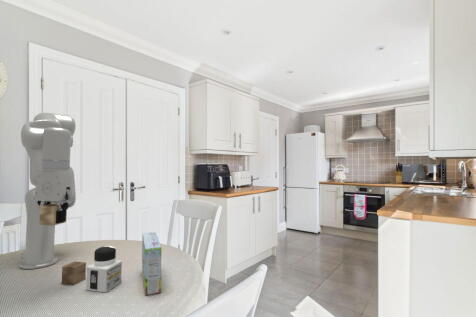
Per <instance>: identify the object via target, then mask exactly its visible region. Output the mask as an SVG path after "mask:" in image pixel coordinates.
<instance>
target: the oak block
mask: <svg viewBox="0 0 476 317" xmlns="http://www.w3.org/2000/svg"><path fill="white" fill-rule="evenodd" d="M62 205H63V204H62ZM56 211H58V207H57V203H53V204H47V205H41V206H40V222H39V225H49V226H54V225H55V226H57V225H62V224H65V223H67V220H66V221H65V222H62V223H56ZM67 211H68V209H67V210H66V219H67V216H68V215H67V214H68V212H67Z"/></svg>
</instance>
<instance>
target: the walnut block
mask: <svg viewBox="0 0 476 317" xmlns="http://www.w3.org/2000/svg"><path fill="white" fill-rule="evenodd" d="M61 267H62V268H61V285H67V286H76V285H78V284H79V283H81V282H83V281H85V280H86V276H87V262H83V261H75V260H74V261H72V262H69V263H67V264H64V265H63V266H61Z"/></svg>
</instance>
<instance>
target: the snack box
mask: <svg viewBox="0 0 476 317" xmlns="http://www.w3.org/2000/svg"><path fill="white" fill-rule="evenodd" d="M141 238H142V241H141V242H142V245H141V246H142V248H141V249H142V250H141V251H142V254H141V264H142V266H141V267H142V268H141V269H142V280H143V281H142V282H143V290H144V296H145V297H146V296H150V295H151V296H152V295H156V294H161V293H162V245H161V243H160V241H159V237H158V235H157V233H156V231H151V232H143V233H142V237H141Z"/></svg>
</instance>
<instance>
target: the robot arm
mask: <svg viewBox="0 0 476 317" xmlns="http://www.w3.org/2000/svg"><path fill="white" fill-rule="evenodd" d="M75 132H76V121H75V119H74V118H73V117H72V116H70V115H68V114H67V115H65V114H59V113H53V112H52V113H51V112H40V113H38V114H36V115H35V116H34V118H33V120H32V121H31V120H30V121H27V122H26V123H24V124H23V125H22V127H21V131H20V140H21V145H22V146H23V147H24V148H25V150H26V153H27V154H28V159H29V182H30V184H31V185H32V186H34V187H33V188H31V189H29V190H27V192H26V193H25V195H24V202H25V204H24V205H25V210H26V211H25V213H26V229H25V230H26V231H25V246H24V247H25V251H23V252H22V254H20V255H18V257H19V258H20V259H22V261H21V262H20V263H19V268H20V269H23V270H33V269H41V268H45V267H49V266H51V265H55V264H56V263H57V262H59V257H58V256H56V255H55V234H56V225H54V226H49V225H39V222H40V206H41V205H47V204H53V203H57V207H58V211H56V223H62V222H65V221H66V222H67V218H66V210H67V211H68V210H69V209H70V208H72V207H74V206H75V204H76V199H77V198H76V197H77V195H76V183H75V173H74V169H73V167H72V166H71V148H72V147H73V145H74V138H73V137H74V134H75ZM62 204H63V205H62ZM66 222H65V223H66ZM62 224H63V223H62Z"/></svg>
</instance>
